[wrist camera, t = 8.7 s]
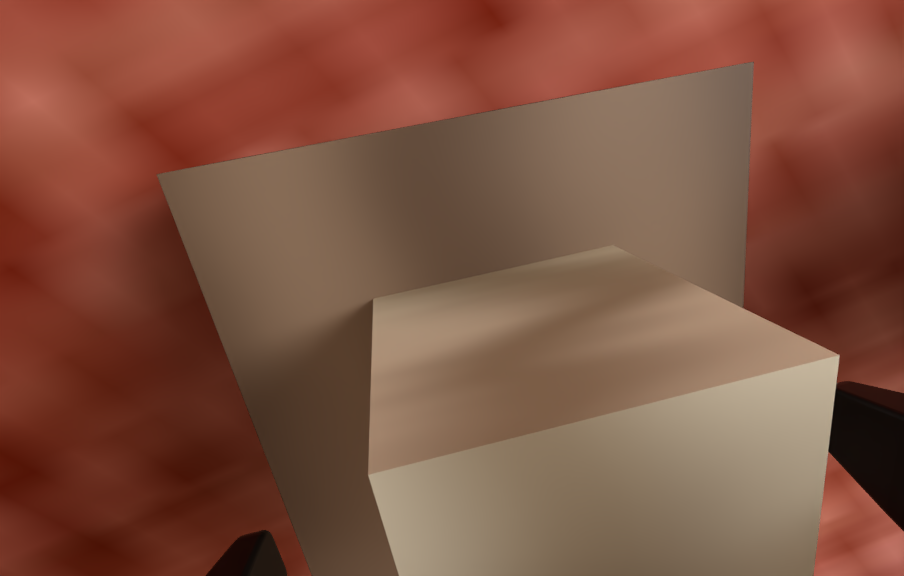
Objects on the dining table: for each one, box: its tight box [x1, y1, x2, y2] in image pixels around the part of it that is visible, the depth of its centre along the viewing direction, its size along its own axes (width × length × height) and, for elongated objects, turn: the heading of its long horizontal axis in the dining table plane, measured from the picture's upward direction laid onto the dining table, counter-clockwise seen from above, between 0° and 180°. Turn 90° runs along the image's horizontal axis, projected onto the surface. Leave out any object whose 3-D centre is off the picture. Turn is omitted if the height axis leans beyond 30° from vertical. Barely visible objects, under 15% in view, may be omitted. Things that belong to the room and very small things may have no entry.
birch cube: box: [368, 245, 840, 576], centre depth 8 cm, size 5×5×5 cm
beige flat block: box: [157, 62, 754, 576], centre depth 12 cm, size 11×11×4 cm
